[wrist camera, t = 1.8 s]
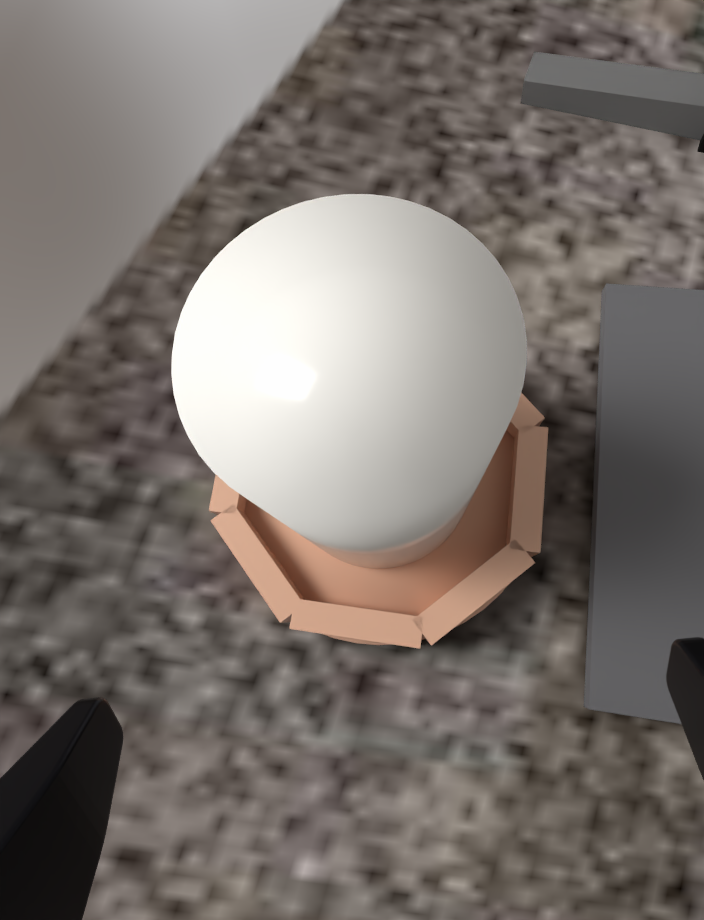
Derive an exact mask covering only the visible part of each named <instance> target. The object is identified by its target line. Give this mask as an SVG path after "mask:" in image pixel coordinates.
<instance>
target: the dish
mask: <svg viewBox="0 0 704 920" xmlns="http://www.w3.org/2000/svg"><path fill="white" fill-rule="evenodd" d="M544 418H545V417H544V416H543V415H542V414H541V413H540V412H539V411H538V410H537V409H536V408H535V407H534V406H533V404H532V403H531V402H530V401H529V400H528V399H527V398H526V397H525V396H524V395H523V394H522V393H521V395H520V398H519V402H518V405H517V408H516V410H515V412H514V414H513V417H512V419H511V421H510V423H509V425H508V427H507V430H506V431H505V433H504V435H503V437H502V439H501V441H500V443H499V445H498V447H497V449H496V451H495V453H494V455H493V457H492V459H491V461H490V463H489V465H488V467H487V469H486V471H485V473H484V475H483V477H482V479H481V481H480V483H479V485H478V487H477V489H476V491H475V493H474V495H473V497H472V499H471V500H470V502H469V504H468V506H467V508H466V510H465V512H464V514H463V516H462V518H461V520H460V522H459V523H458V525H457V527H456V528H455V530H454V531H453V532H452V534H451V535H450V536H449V537H448V538H447V539H446V541H445V542H443V543H442V544H441V545H440V546H439V547H438V548H437V549H435V550H434V551H432V552H431V553H429V554H428V555H427V556H425V557H423V558H421V559H419V560H417V561H415V562H412V563H409V564H406V565H403V566H398V567H393V568H382V569H375V568H364V567H359V566H354V565H351V564H348V563H345V562H343V561H340V560H339V559H337V558H335V557H333V556H331V555H329V554H328V553H326V552H325V551H323V550H322V549H320V548H319V547H317V546H316V545H315V544H313V543H312V542H310V541H309V540H307V539H306V538H304V537H303V536H301V535H300V534H298V533H297V532H295V531H294V530H292V529H291V528H289V527H288V526H286V525H285V524H283V523H282V522H280V521H279V520H277V519H276V518H275V517H273V516H272V515H270V514H269V513H267V512H266V511H264V510H263V509H261V508H260V507H258V506H257V505H255V504H254V503H252V502H251V501H249V500H248V499H246V498H245V497H244V496H242V495H241V494H239V493H238V492H236V491H235V490H233V489H232V488H230V487H229V486H228V485H227V484H226V483H225V482H224V481H223V480H222V479H220V478H219V477H218V476H217V475H216V477H215V482H214V487H213V492H212V497H211V502H210V507H209V511H210V512H212V513H214V514H216V515H217V516H216V517H215V518H213V519H212V520H211V522H212V523H213V525H214V526H215V528H216V529H217V531H218V532H219V534H220V535H221V537H222V538H223V540H224V541H225V542H226V544H227V545H228V547H229V548H230V550H231V551H232V553H233V554H234V556H235V557H236V559H237V560H238V562H239V563H240V564H241V566H242V567H243V569H244V570H245V572H246V573H247V575H248V577H249V578H250V579H251V581H252V582H253V583H254V585H255V586H256V588H257V589H258V591H259V592H260V594H261V595H262V597H263V598H264V600H265V601H266V603H267V604H268V605H269V607H270V608H271V610H272V611H273V613H274V614H275V616H276V617H277V619H278V620H279V622H280V623H284V622H291V623H290V629H295V630H302V631H308V632H315V633H321V634H324V635H327V636H329V637H332V638H335V639H340V640H344V641H349V642H353V643H360V644H372V645H388V644H394V645H400V646H407V647H413V648H420V646H421V640H424V639H427V641H428V642H429V643H430V645H431V646H432V645H433V644H434V643H435V642H437V641H438V640H439V639H440V638H442V637H443V636H444V635H445V634H447V633H448V632H449V631H450V630H452V629H453V628H454V627H456V626H458V625H460V624H462V623H464V622H466V621H468V620H469V619H470V618H472V617H473V616H475V615H476V614H478V613H479V612H481V611H482V610H484V609H485V608H486V607H487V606H488V605H489V604H490V603H491V602H492V601H493V600H495V599H496V598H497V597H498V596H499V595H500V594H501V593H502V592H503V591H504V589H505V588H506V587H507V586H508V584H509V583H511V582H512V581H513V580H514V579H516V578H517V577H518V576H519V575H521V574H522V573H523V572H524V571H526V570H527V569H528V568H529V567H531V566H532V565H533V564H534V563H535V562H534V560H533V559H532V558H531V557H533V556H535V555H537V554H539V553H540V552H541V536H542V521H543V505H544V489H545V473H546V457H547V442H548V427H539V426H540V424H541V423H542V421H543V420H544Z"/></svg>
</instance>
